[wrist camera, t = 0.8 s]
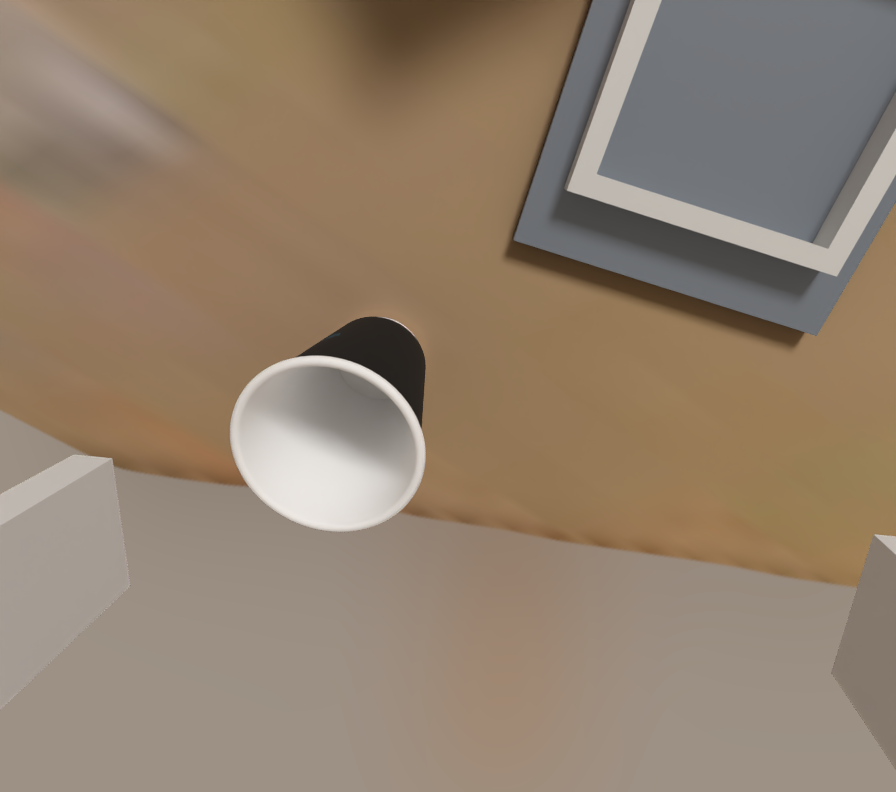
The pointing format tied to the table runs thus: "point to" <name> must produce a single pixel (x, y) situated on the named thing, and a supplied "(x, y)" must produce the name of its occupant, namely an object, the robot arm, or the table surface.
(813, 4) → the carrier plate
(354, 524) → the dixie cup
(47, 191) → the table surface
